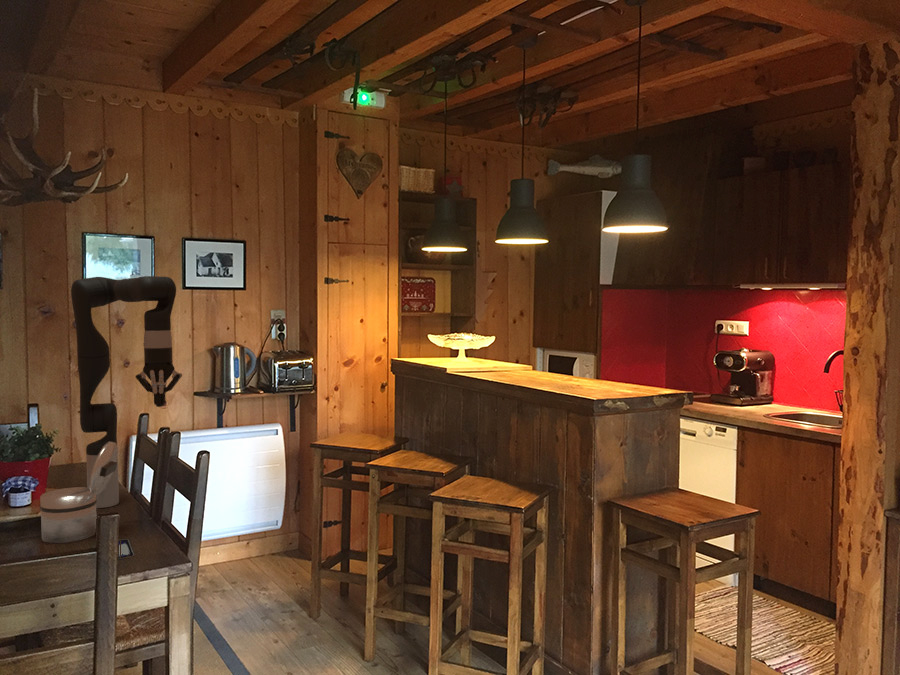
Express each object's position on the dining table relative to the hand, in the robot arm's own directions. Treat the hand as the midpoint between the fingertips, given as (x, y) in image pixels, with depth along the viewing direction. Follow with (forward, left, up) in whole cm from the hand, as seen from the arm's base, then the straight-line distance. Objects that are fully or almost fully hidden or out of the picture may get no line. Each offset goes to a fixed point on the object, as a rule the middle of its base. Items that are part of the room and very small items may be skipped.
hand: (159, 406), depth 212 cm
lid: (+2, -16, -17) cm, 23 cm away
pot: (+2, -25, -36) cm, 44 cm away
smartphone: (+17, -7, -37) cm, 41 cm away
